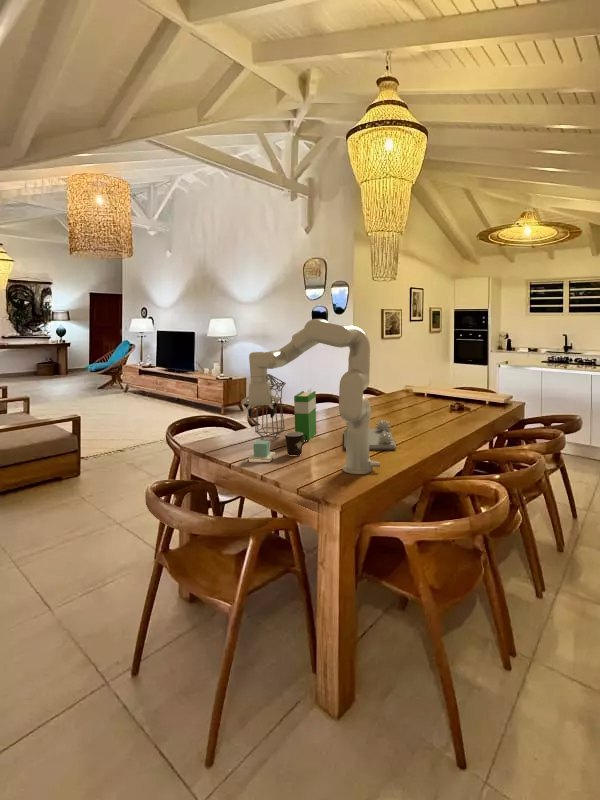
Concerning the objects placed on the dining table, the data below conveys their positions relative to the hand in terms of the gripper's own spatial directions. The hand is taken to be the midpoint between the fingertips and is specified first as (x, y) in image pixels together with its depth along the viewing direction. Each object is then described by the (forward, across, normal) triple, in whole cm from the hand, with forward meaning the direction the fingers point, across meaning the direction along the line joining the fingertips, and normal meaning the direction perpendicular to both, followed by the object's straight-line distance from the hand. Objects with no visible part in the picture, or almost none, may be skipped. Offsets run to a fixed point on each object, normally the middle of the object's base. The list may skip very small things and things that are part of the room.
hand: (261, 417), depth 204 cm
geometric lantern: (+19, +6, -38) cm, 43 cm away
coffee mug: (+20, -14, -9) cm, 26 cm away
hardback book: (+20, -13, -41) cm, 48 cm away
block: (+18, +1, 0) cm, 18 cm away
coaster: (+20, +1, 0) cm, 20 cm away
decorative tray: (+21, -47, -36) cm, 63 cm away
